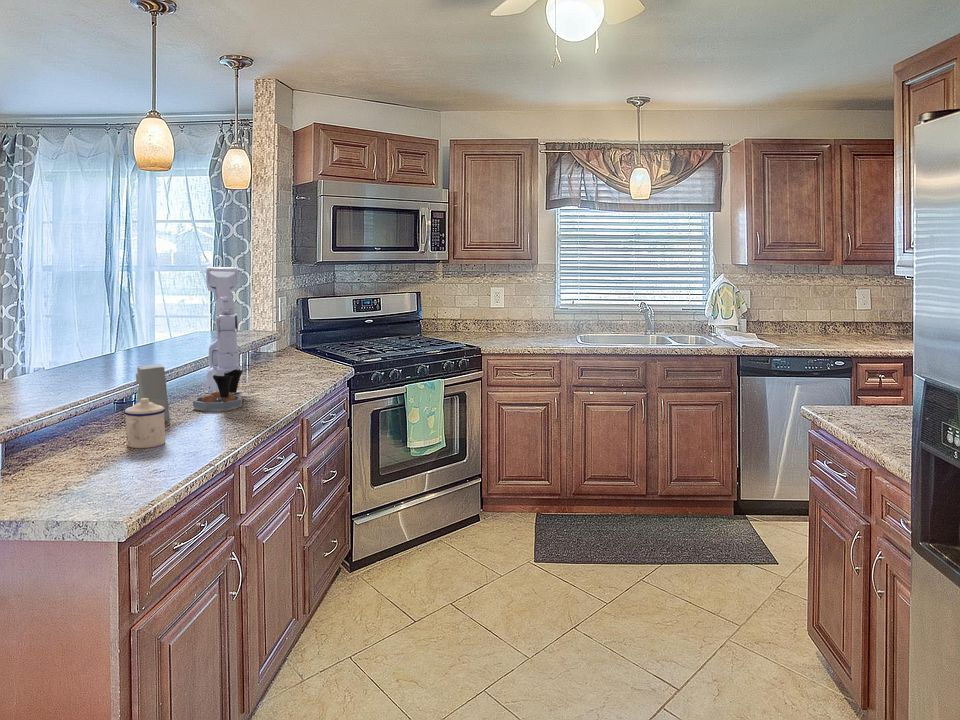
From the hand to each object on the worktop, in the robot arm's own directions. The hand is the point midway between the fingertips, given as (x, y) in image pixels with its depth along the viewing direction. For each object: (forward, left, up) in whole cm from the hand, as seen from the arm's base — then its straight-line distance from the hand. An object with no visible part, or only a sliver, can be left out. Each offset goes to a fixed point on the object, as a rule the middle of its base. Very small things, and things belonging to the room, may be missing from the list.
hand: (228, 395), depth 215 cm
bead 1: (-6, -1, -1) cm, 6 cm away
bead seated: (-3, -5, -1) cm, 6 cm away
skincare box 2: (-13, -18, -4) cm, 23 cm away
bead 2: (0, 0, -1) cm, 1 cm away
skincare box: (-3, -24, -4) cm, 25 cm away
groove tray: (-3, -2, -4) cm, 5 cm away
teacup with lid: (+19, -43, -4) cm, 47 cm away
